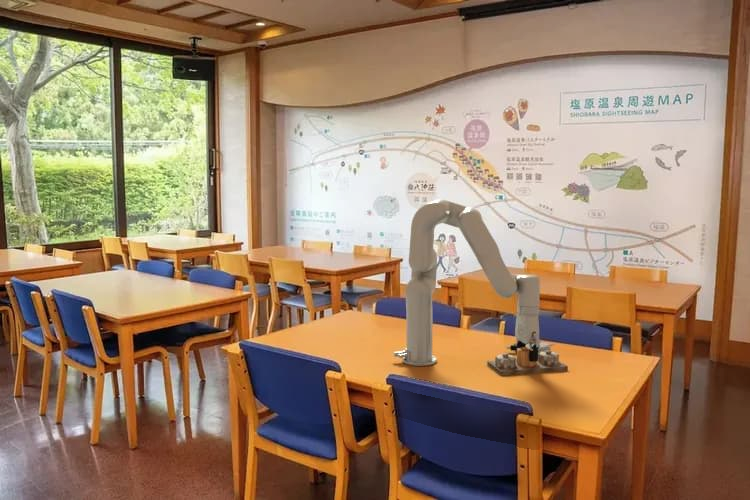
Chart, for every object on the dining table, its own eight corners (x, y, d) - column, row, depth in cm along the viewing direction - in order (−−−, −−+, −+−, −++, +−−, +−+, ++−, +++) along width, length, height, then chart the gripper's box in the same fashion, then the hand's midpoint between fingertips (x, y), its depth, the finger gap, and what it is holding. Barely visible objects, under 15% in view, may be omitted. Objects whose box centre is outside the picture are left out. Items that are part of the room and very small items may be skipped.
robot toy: (504, 355, 237) (537, 360, 226) (503, 343, 237) (536, 348, 226) (523, 349, 245) (556, 354, 234) (523, 338, 245) (556, 342, 234)
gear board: (500, 375, 210) (500, 359, 209) (487, 365, 222) (487, 350, 221) (567, 370, 215) (568, 355, 214) (551, 360, 227) (551, 345, 226)
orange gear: (521, 367, 214) (522, 353, 214) (513, 361, 221) (513, 347, 220) (540, 365, 216) (540, 351, 215) (531, 360, 222) (531, 346, 222)
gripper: (507, 305, 224) (507, 351, 226) (529, 315, 207) (528, 365, 209) (527, 304, 225) (526, 349, 227) (549, 314, 208) (548, 363, 210)
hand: (527, 357), depth 218 cm, fingers open, 9 cm apart
